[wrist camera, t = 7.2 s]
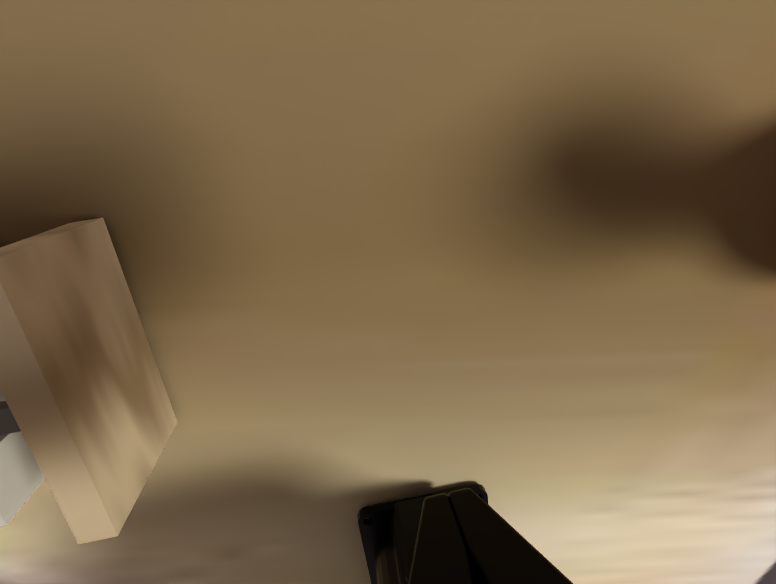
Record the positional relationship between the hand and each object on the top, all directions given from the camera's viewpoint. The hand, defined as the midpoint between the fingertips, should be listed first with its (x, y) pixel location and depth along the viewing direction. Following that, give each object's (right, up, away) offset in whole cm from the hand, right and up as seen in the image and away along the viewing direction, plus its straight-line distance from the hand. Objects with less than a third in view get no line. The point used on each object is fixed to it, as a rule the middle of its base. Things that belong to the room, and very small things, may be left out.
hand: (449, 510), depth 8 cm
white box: (-18, +1, +10) cm, 21 cm away
